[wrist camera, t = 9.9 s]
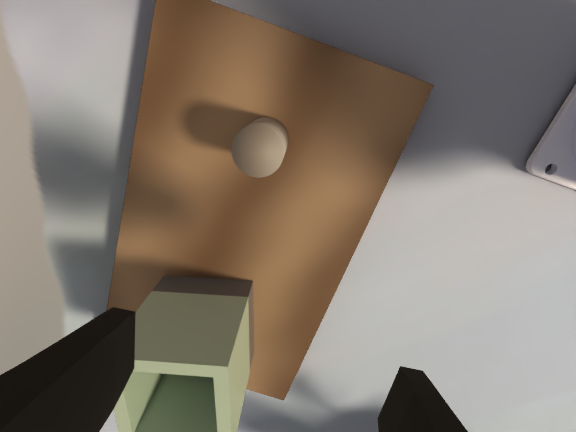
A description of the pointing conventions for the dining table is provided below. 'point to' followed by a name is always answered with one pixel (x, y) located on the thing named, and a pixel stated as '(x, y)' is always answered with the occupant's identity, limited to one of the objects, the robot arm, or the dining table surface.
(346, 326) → the dining table surface
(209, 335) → the sleeve
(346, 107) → the pin board
